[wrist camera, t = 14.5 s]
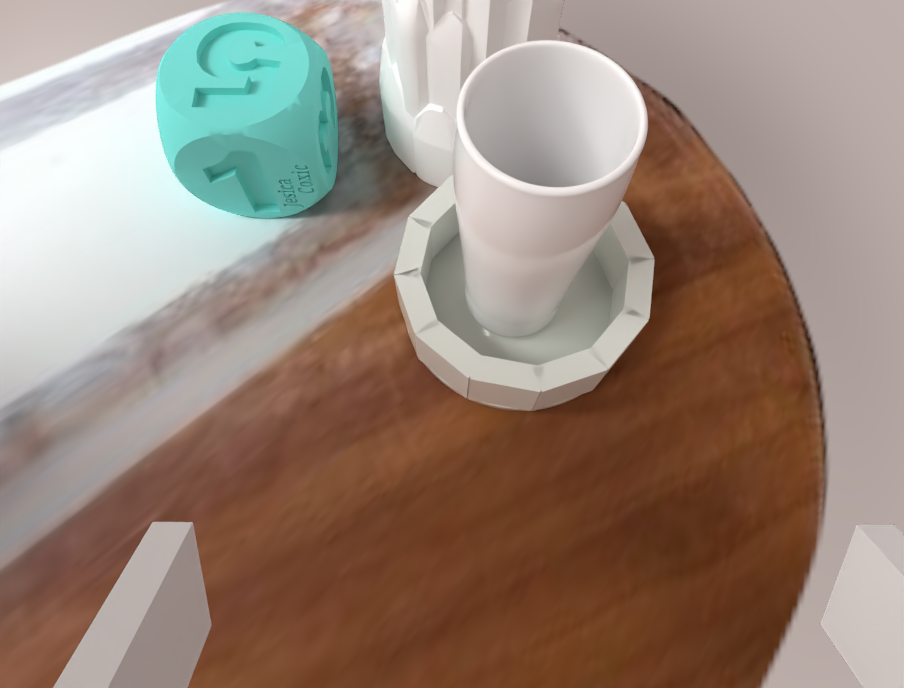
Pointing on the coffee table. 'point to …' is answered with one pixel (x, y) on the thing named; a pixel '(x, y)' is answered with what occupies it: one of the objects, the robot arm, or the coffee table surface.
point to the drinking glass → (539, 174)
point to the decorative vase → (445, 67)
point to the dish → (530, 357)
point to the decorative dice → (249, 115)
